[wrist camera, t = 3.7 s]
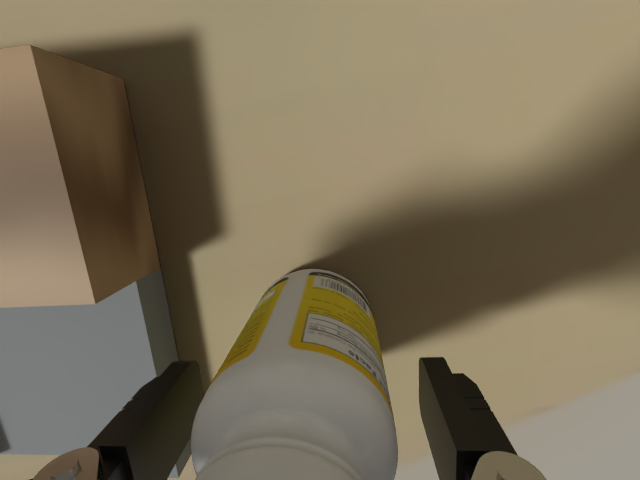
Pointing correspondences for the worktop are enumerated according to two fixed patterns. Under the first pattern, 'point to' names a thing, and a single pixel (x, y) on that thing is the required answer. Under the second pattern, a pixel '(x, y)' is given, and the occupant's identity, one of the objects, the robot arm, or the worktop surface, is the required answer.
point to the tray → (80, 367)
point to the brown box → (68, 184)
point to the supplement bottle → (300, 391)
